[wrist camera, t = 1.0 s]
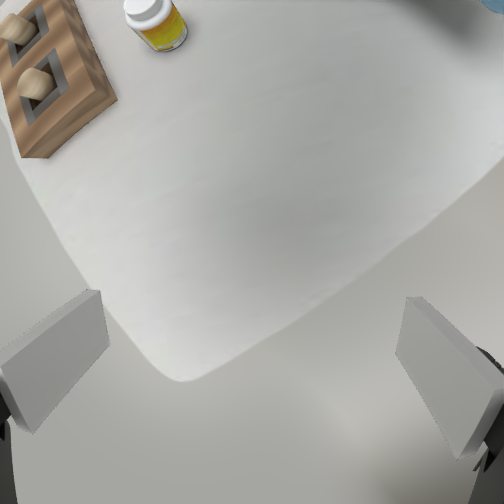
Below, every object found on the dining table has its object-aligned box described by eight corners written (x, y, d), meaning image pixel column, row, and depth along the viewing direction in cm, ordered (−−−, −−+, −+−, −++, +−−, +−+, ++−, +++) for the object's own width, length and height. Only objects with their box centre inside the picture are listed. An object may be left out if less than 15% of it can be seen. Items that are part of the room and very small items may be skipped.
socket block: (14, 48, 32) (-7, 40, 26) (71, -5, 30) (53, -19, 24) (47, 158, 36) (21, 158, 31) (117, 99, 34) (94, 89, 28)
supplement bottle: (196, 26, 31) (175, -13, 22) (172, 58, 33) (143, 26, 23) (164, 14, 31) (137, -22, 21) (140, 45, 32) (106, 14, 22)
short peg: (41, 89, 31) (14, 81, 25) (59, 72, 31) (33, 62, 25) (47, 108, 32) (20, 102, 26) (66, 90, 31) (39, 81, 25)
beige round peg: (20, 37, 27) (-4, 27, 21) (36, 20, 26) (13, 8, 21) (23, 51, 28) (-2, 41, 22) (40, 34, 27) (16, 22, 21)
